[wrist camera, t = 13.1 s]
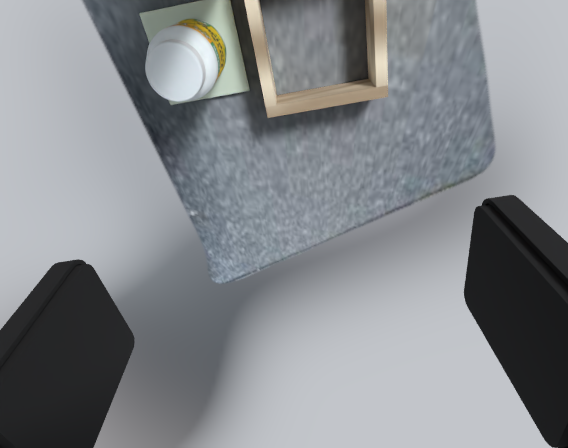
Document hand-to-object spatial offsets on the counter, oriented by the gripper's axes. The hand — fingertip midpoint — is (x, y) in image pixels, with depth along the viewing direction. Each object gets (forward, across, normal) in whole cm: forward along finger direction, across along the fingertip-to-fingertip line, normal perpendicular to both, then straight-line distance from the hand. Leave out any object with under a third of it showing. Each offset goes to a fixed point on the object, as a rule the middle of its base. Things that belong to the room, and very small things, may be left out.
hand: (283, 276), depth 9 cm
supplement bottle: (+30, +7, -2) cm, 31 cm away
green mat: (+30, +8, -2) cm, 31 cm away
